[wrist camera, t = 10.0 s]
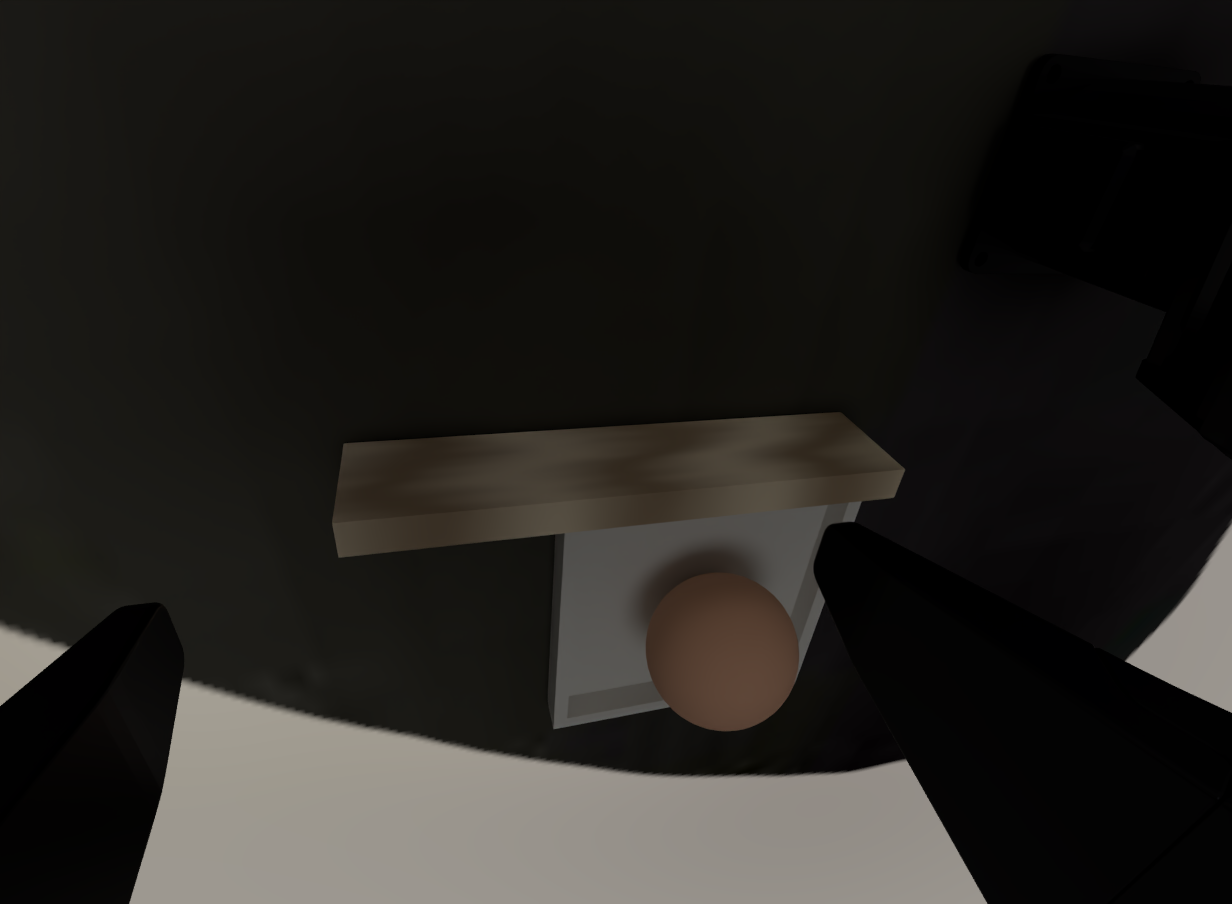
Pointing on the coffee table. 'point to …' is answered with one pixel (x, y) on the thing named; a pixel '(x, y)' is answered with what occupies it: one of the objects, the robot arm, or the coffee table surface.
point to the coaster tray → (643, 575)
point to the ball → (722, 651)
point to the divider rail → (598, 479)
